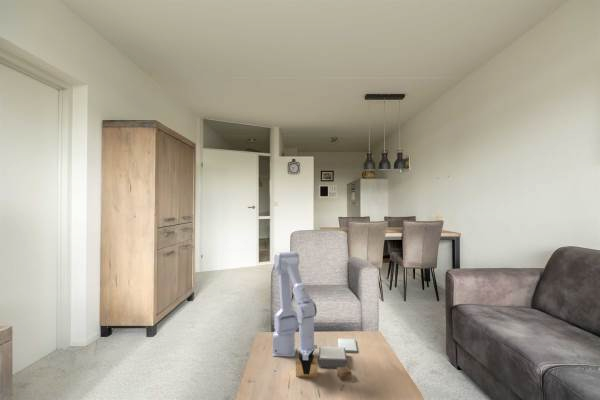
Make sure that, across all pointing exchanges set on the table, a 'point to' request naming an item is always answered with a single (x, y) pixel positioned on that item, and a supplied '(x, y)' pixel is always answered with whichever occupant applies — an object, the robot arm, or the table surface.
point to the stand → (332, 357)
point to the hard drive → (348, 345)
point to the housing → (313, 369)
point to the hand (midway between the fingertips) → (306, 370)
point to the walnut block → (344, 373)
